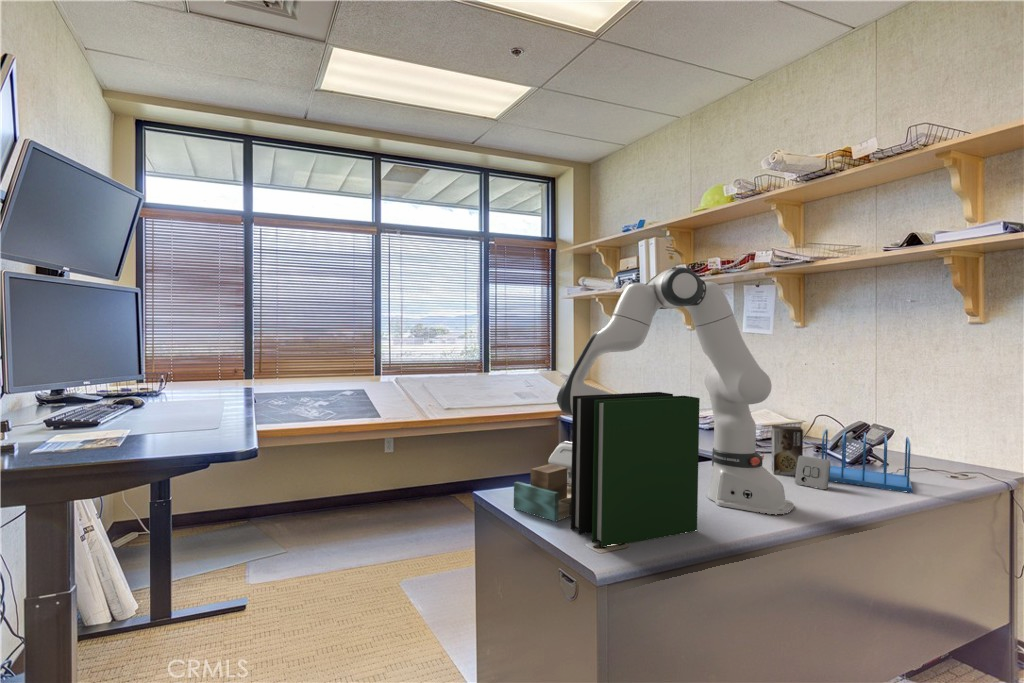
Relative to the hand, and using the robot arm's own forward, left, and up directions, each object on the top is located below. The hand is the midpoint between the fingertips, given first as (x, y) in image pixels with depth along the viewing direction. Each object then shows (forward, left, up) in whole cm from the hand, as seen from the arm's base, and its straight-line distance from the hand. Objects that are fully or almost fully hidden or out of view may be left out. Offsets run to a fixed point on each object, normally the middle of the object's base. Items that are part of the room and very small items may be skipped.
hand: (569, 485), depth 150 cm
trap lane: (+1, +4, -5) cm, 7 cm away
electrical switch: (-42, -71, -5) cm, 83 cm away
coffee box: (-31, -82, -5) cm, 88 cm away
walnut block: (+1, +8, -2) cm, 8 cm away
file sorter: (-53, -91, -5) cm, 105 cm away
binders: (-23, +5, -5) cm, 24 cm away
